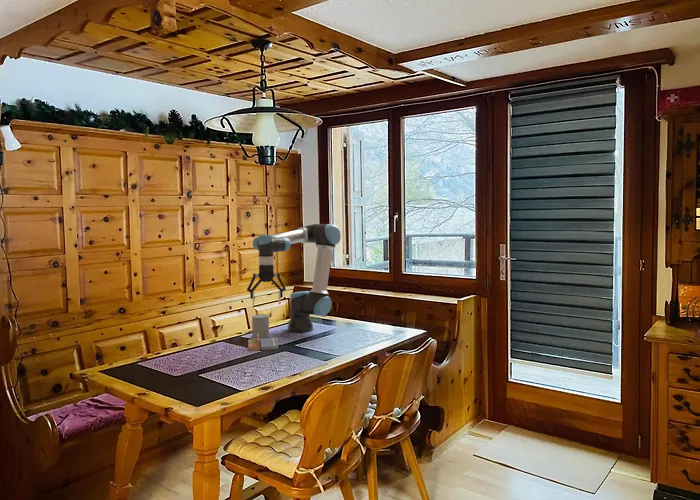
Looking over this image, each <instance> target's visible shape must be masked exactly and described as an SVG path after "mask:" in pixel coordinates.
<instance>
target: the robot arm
mask: <svg viewBox="0 0 700 500" xmlns="http://www.w3.org/2000/svg"><path fill="white" fill-rule="evenodd" d="M341 237H342V235H341V231H340V228H339V227H338V226H337V225H335V224H331V223H322V224H321V223H313V224H309V225H304V226H301V227H299V228H297V229H295V230H294V229H293V230H291V231H285V232H281V233H280V232H278V233H275V234H260V235H258V236H256V237H254V238H253V240H252V246H253V249H254V250H257V251H258V273H255V272H254V273H253V274H252V278H251V280H250V282H249V285H248V286H247V289H246V291H247V292H248V293H249V294H250V300H251V299H252V305H253V306H255V290H256V288H258V287H259V285H260V284H261V283H266V282H267V283H270V282H272V283H273V285H274V286H275V287H276V288H277V290H279V291H278V305H281V298H283V293H284V291H286V290H287V289H286V286H285V285H284V284H285V283H283V281H282V279H281V276H280V272H277V273H275V272H274V253H279V252H283V253H284V252H287V251H289V250H290V248H291V245H294V244H298V243H301V244H307V243H311V244H315V246H316V248H317V253H316V260H315V268H314V274H313V280H312V281H313V282H312V288H311V290H305V291H304V290H303V291H295V292H292V293H291V294H290V299H289V300H290V302H289V303H290V306H289V307H290V318H289V322H288V325H287V331H289V332H292V333H307V332H311V331H313V330H314V325H313V321H312V319H311V315H314V316H316V317H324V316H326V315H327V314H328V313H330V311H331V309H332V304H333V303H332V302H333V301H332V299H331V297H329V295H330V294H329V292H328V283H329V278H330V277H329V275H330V268H331V263H332V262H331V261H332V255H333V250H334V249H336V245H337V244H339V243H340V242H341ZM274 277H275V278H277V279H278V281H279V283H280V285H279V284H278V283H277V282H276V281H275V280H274ZM257 278H259V279H258V281H257V282H256V283H255V284H254V282H255V279H257ZM253 284H254V285H253ZM252 286H253V287H252ZM251 287H252V288H251Z"/></svg>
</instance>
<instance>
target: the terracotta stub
mask: <svg viewBox="0 0 700 500" xmlns="http://www.w3.org/2000/svg"><path fill="white" fill-rule="evenodd" d="M247 347H248V348H247V349H248V351H259V350H261V343H260V339H259V337H257V343H248V345H247Z"/></svg>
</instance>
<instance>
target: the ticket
mask: <svg viewBox="0 0 700 500" xmlns="http://www.w3.org/2000/svg"><path fill="white" fill-rule="evenodd" d="M259 340H260V350H261V351H269V350H279V347H280V346H279V342H278V338H277V337H269V338H263V339H259Z"/></svg>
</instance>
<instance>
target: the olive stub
mask: <svg viewBox="0 0 700 500" xmlns="http://www.w3.org/2000/svg"><path fill="white" fill-rule="evenodd" d="M257 337H259V333H257ZM247 341H248V343H257V339H254V338H251V339H248V340H247Z"/></svg>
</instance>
